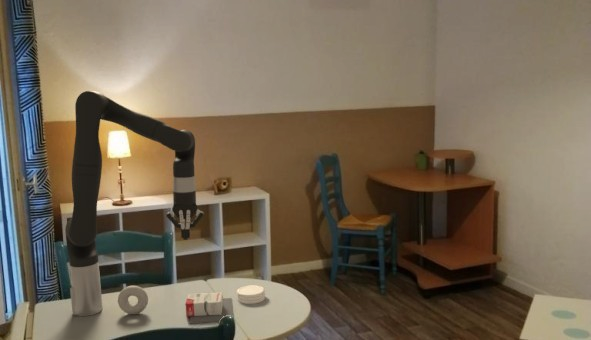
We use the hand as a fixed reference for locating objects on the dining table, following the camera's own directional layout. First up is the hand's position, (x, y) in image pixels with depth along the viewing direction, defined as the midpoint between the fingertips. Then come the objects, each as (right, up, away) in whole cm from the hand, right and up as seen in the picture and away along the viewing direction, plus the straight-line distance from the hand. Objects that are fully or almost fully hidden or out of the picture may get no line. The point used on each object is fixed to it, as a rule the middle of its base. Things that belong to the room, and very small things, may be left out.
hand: (185, 239), depth 193 cm
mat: (+9, -24, -1) cm, 26 cm away
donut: (-17, -25, -2) cm, 31 cm away
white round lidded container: (+22, -23, +9) cm, 33 cm away
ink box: (+1, -22, -3) cm, 22 cm away
